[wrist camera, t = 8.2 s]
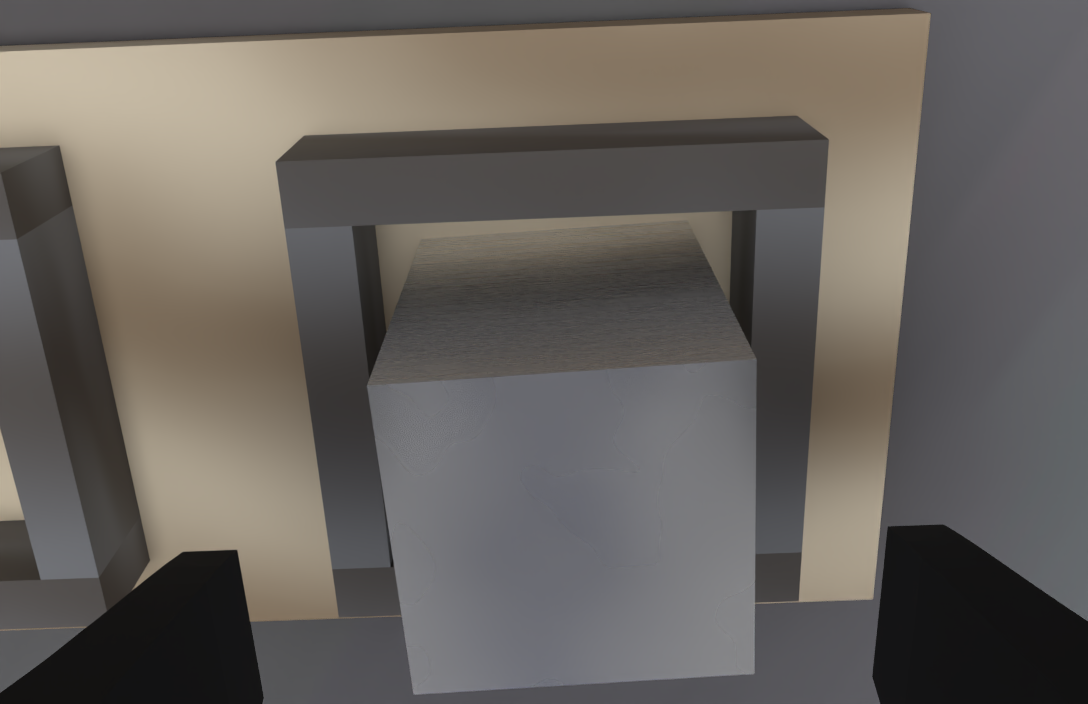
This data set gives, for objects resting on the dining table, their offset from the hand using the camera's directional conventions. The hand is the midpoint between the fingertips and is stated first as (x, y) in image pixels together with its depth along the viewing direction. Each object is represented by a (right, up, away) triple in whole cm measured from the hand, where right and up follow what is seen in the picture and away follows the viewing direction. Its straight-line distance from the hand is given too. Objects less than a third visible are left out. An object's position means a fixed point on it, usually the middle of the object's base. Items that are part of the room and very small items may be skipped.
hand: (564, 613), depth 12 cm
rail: (-6, +3, +8) cm, 10 cm away
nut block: (0, +3, +7) cm, 7 cm away
